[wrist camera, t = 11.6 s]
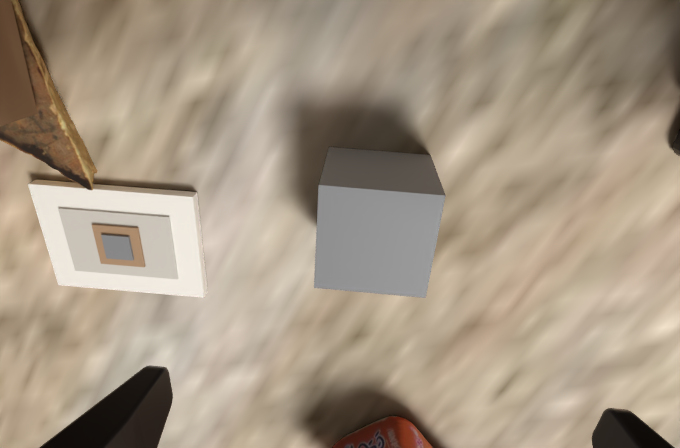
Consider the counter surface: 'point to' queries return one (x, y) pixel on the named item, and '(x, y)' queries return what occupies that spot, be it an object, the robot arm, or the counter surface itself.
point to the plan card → (122, 237)
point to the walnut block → (13, 71)
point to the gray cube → (377, 222)
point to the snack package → (385, 435)
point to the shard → (47, 120)
